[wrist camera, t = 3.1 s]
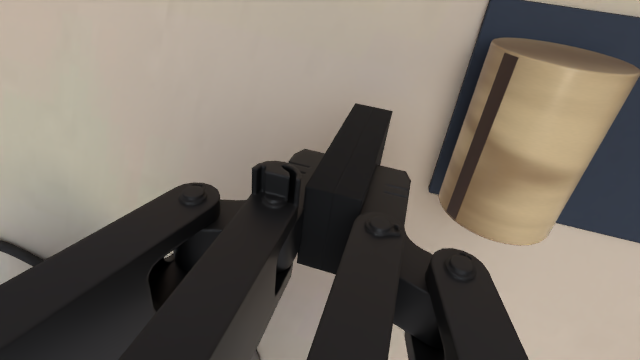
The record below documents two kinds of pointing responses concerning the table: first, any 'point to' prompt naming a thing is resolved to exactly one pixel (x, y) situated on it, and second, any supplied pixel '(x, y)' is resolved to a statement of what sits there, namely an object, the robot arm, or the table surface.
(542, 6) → the board
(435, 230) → the table surface
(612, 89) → the roller
